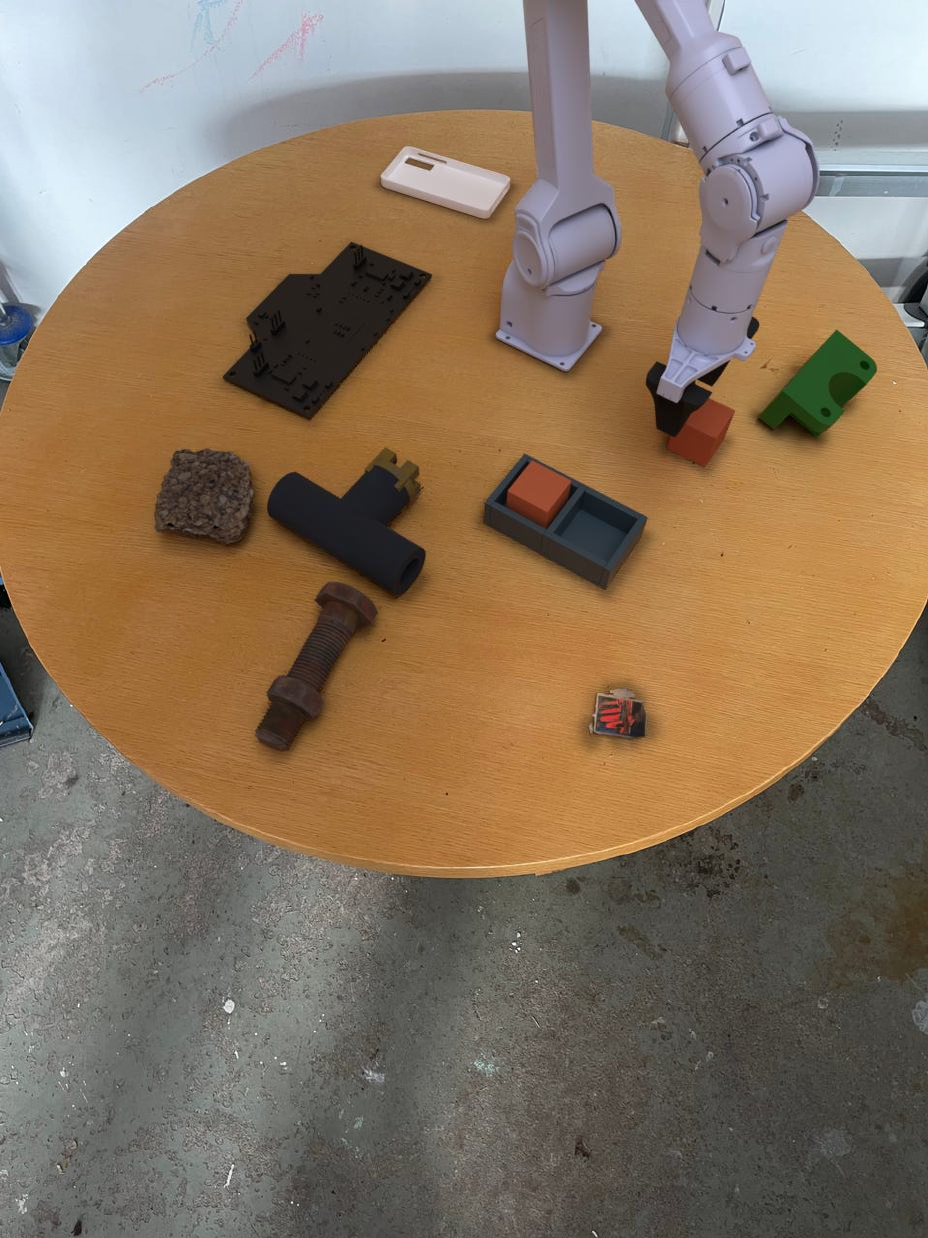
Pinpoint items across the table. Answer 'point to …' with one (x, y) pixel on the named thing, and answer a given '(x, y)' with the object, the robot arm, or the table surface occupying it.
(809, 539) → the table surface
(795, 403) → the clamp
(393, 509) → the pipe connector
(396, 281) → the circuit board
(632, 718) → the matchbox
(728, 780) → the table surface
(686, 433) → the red cube
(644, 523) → the grey rectangular tray
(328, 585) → the bolt
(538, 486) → the orange cube
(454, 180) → the phone case
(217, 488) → the concrete sample
